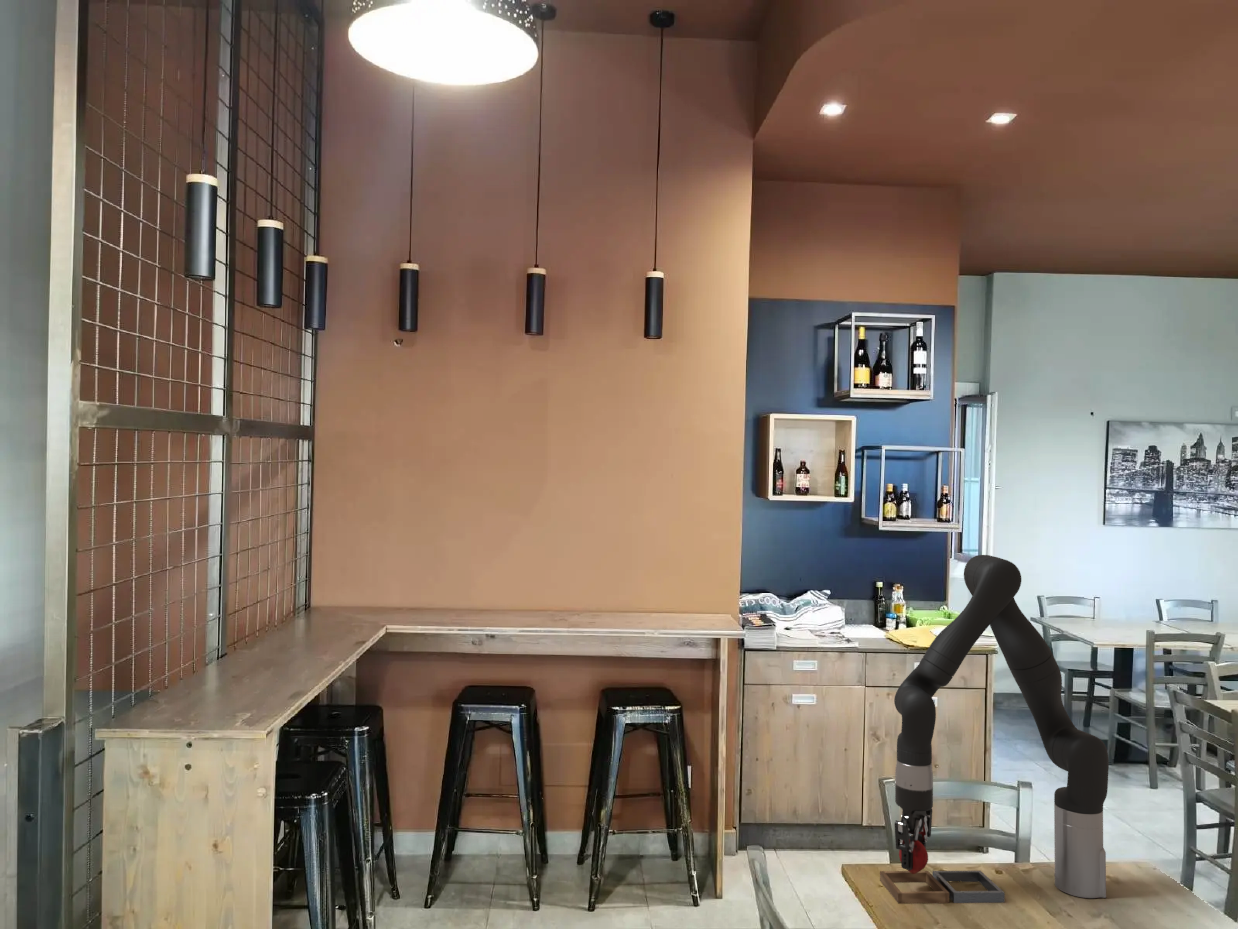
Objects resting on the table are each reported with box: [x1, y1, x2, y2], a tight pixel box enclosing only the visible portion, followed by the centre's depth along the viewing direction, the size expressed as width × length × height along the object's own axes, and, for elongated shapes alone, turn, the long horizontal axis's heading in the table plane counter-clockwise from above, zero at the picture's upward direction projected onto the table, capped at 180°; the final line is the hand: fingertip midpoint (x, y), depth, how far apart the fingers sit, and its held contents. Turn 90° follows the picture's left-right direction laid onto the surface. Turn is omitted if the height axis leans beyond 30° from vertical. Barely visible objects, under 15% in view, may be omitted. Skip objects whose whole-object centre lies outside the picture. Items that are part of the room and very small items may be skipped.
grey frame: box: [932, 870, 1006, 904], centre depth 183 cm, size 11×11×2 cm
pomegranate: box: [898, 834, 929, 874], centre depth 183 cm, size 6×6×8 cm
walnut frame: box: [879, 870, 950, 904], centre depth 182 cm, size 11×11×2 cm
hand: (913, 864), depth 183 cm, fingers closed on pomegranate, 6 cm apart
